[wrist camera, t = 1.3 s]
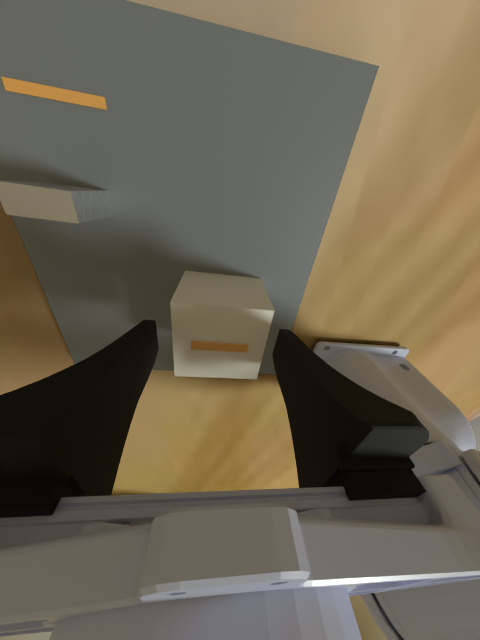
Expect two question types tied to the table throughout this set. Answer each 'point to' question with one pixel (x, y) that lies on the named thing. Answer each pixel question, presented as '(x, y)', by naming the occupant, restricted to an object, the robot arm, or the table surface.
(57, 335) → the table surface
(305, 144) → the plate
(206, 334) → the white drawer cabinet
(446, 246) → the table surface
